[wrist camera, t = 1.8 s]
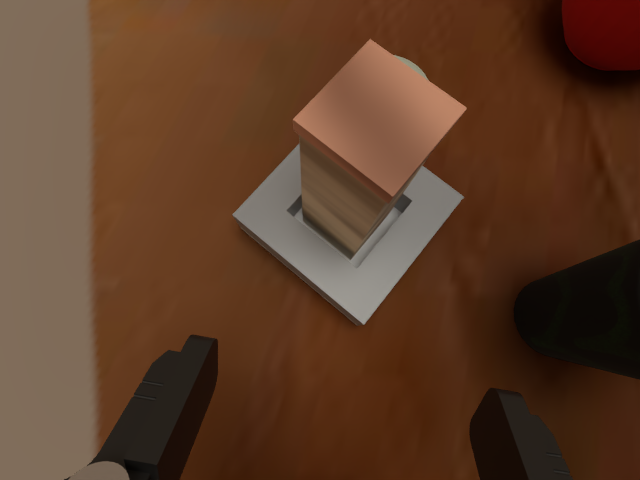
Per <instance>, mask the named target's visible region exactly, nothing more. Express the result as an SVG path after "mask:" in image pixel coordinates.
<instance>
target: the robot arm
mask: <svg viewBox="0 0 640 480" xmlns="http://www.w3.org/2000/svg"><path fill="white" fill-rule="evenodd" d="M217 375H218V341H217V339H215V338H209V337H203V336H197V335H190V336H189V338H188V339H187V341H186V343H185V345H184V347H183V349H182V350H181V352H177V351H171V350H168V351H167V352H165V353H164V354H163V355H162V356H161V357H159V358H158V359H157V360H156V361H155V362H153V363H152V365H151V367H150V368H149V370H148V372H147V373H146V375H145V377H144V378H143V381H142V383H140V385H139V387H138V388H137V390H136V392H135V393H134V397H132V398H131V400H130V402H129V403H128V405H127V407H126V408H125V410H124V412H123V413H122V415H121V417H120V418H119V420H118V422H117V423H116V425H115V427H114V428H113V430H112V432H111V433H110V435H109V437H108V438H107V440H106V442H105V443H104V445H103V447H102V448H101V450H100V452H99V453H98V454H97V456H96V457H95V458H94V459H93V460H92V462H91V463H89V464H88V465H87V466H86V467H84V468H82V469H81V470H79V471H78V472H76V473H75V474H74V475H73V476H71V477H69V478H67V479H64V480H179V479H180V477H181V474H182V472H183V469H184V467H185V464H186V462H187V459H188V456H189V454H190V451H191V449H192V446H193V444H194V441H195V439H196V436H197V434H198V431H199V428H200V426H201V423H202V421H203V418H204V416H205V413H206V411H207V408H208V405H209V403H210V400H211V398H212V395H213V392H214V389H215V386H216V381H217ZM470 441H471V445H472V449H473V453H474V457H475V461H476V465H477V469H478V473H479V477H480V480H573V478H572V476H570V475H569V472H570V471H569V469H568V467H567V465H566V462H565V460H564V459H562V454H561V451H560V449H559V447H558V445H557V442H556V440H555V438H554V436H553V434H552V433H551V432H550V430H549V429H548V428H547V427H546V425H545V424H544V423H543V422H542V420H541V419H540V418H539V417H538V416H536V415H530V413H529V410H528V408H527V405H526V403H525V401H524V399H523V397H522V395H521V394H520V393H518V392H513V391H507V390H501V389H496V388H490V389H489V390H488V391H487V393H486V394H485V396H484V398H483V400H482V401H481V403H480V405H479V406H478V408H477V410H476V412H475V413H474V415H473V417H472V419H471V422H470Z"/></svg>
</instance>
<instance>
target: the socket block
mask: <svg viewBox="0 0 640 480" xmlns="http://www.w3.org/2000/svg"><path fill="white" fill-rule="evenodd" d="M462 199H463V196H462V195H461V194H459V193H458V192H457V191H455V190H454V189H453V188H451V187H450V186H449V185H447V184H446V183H445V182H443V181H442V180H441V179H439V178H438V177H437V176H435V175H434V174H433V173H431V172H430V171H429V170H427V169H426V168H425V167H423V166H422V167H421V168H420V170H419V171H418V172H417V174H416V175H415V177H414V178H413V180H412V181H411V183H410V184H409V185H408V187H407V188H406V190H405V191H404V193H403V194H402V196H401V197H400V198H399V200H398V201H397V203H396V204H395V206H394V207H393V209H392V210H391V212H390V213H389V214H388V216H387V217H386V218H385V219H384V220H383V222H382V223H381V224H380V225H379V227H378V228H377V229H376V230H375V231H374V233H373V234H372V235H371V236H370V237H369V239H368V240H367V241H366V242H365V243H364V245H363V246H362V247H361V248H360V250H359V251H358V252H357V253H356V254H355V256H354V257H353V258H352V259H351V260H350V259H349V258H347V257H346V256H345V255H344V254H342V253H341V252H340V251H339V250H337V249H336V248H335V247H334V246H333V245H331V244H330V243H329V242H328V241H326V240H325V239H324V238H323V237H321V236H320V235H319V234H318V233H317V232H315V231H314V230H313V229H312V228H310V227H309V226H308V225H307V224H305V223H304V222H303V213H302V189H301V166H300V143H299V144H298V146H297V147H296V148H295V149H294V150H293V151H292V152H291V153H290V154H289V155H288V156H287V157H286V158H285V159H284V160H283V162H282V163H281V164H280V165H279V166H278V167H277V168H276V169H275V170H274V171H273V172H272V173H271V174H270V175H269V176H268V178H267V179H266V180H265V181H264V182H263V183H262V184H261V185H260V186H259V187H258V188H257V189H256V190H255V191H254V192H253V193H252V195H251V196H250V197H249V198H248V199H247V200H246V201H245V202H244V203H243V204H242V205H241V206H240V207H239V208H238V209H237V211H236V212H235V213H234V214H233V217H234V218H235V220H236V221H237V223H238V224H239V226H240V227H241V229H242V230H244V231H245V232H246V233H247V234H248V235H249V236H251V237H252V238H253V239H254V240H255V241H257V242H258V243H259V244H260V245H261V246H263V247H264V248H265V249H266V250H267V251H269V252H270V253H271V254H272V255H273V256H275V257H276V258H277V259H278V260H279V261H280V262H282V263H283V264H284V265H285V266H286V267H288V268H289V269H290V270H291V271H292V272H294V273H295V274H296V275H297V276H298V277H300V278H301V279H302V280H303V281H304V282H305V283H307V284H308V285H309V286H310V287H311V288H313V289H314V290H315V291H316V292H317V293H319V294H320V295H321V296H322V297H323V298H325V299H326V300H327V301H328V302H329V303H331V304H332V305H333V306H334V307H335V308H336V309H338V310H339V311H340V312H341V313H342V314H344V315H345V316H346V317H347V318H348V319H350V320H351V321H352V322H353V323H354V324H356V325H357V326H358V325H364V324H365V323H366V321H367V320H368V319H369V318H370V316H371V315H372V314H373V312H374V311H375V310H376V309H377V307H378V306H379V305H380V304H381V302H382V301H383V300H384V298H385V297H386V296H387V295H388V293H389V292H390V291H391V289H392V288H393V287H394V286H395V284H396V283H397V282H398V280H399V279H400V278H401V277H402V275H403V274H404V273H405V272H406V270H407V269H408V268H409V266H410V265H411V264H412V263H413V261H414V260H415V259H416V257H417V256H418V255H419V254H420V252H421V251H422V250H423V249H424V247H425V246H426V245H427V243H428V242H429V241H430V240H431V238H432V237H433V236H434V234H435V233H436V232H437V231H438V229H439V228H440V227H441V225H442V224H443V223H444V222H445V220H446V219H447V218H448V217H449V215H450V214H451V213H452V211H453V210H454V209H455V208H456V206H457V205H458V204H459V202H460V201H461V200H462Z"/></svg>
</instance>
